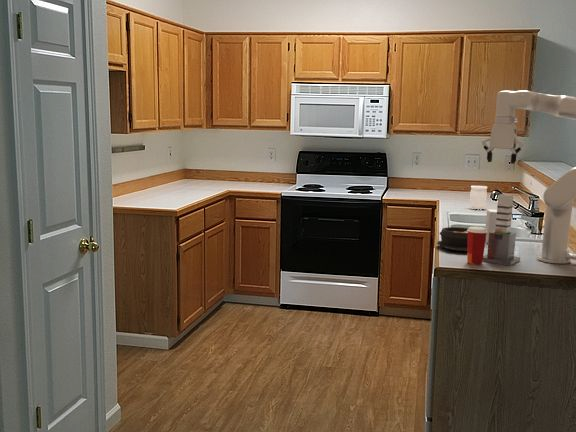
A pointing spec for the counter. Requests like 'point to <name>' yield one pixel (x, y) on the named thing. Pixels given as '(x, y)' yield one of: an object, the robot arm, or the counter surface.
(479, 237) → the paper cup
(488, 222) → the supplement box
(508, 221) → the column
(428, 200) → the counter surface
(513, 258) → the stand
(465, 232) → the casserole
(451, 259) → the counter surface
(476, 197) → the jar
